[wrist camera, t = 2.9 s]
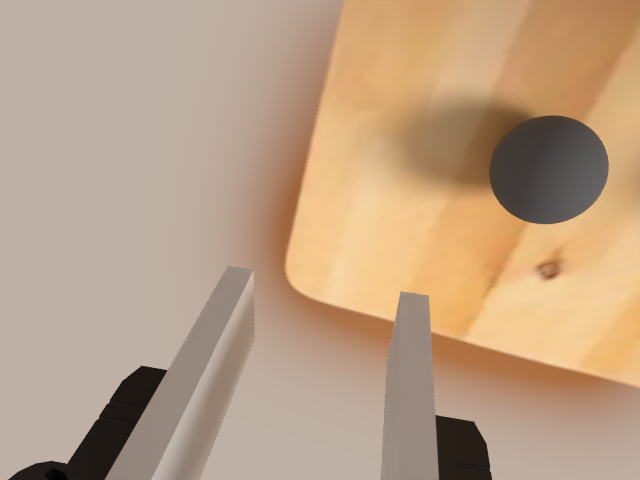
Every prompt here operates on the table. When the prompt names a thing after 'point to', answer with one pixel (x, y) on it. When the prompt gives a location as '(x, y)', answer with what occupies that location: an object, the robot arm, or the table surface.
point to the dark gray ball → (549, 169)
